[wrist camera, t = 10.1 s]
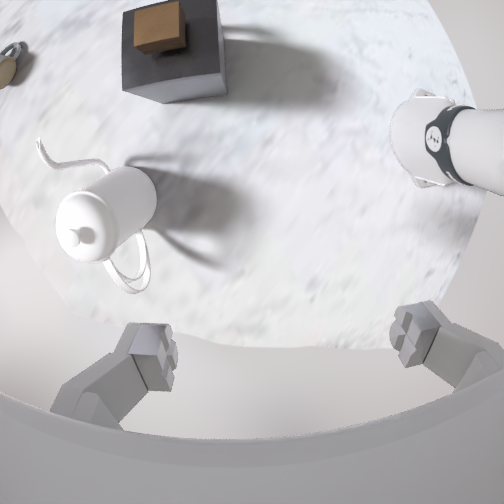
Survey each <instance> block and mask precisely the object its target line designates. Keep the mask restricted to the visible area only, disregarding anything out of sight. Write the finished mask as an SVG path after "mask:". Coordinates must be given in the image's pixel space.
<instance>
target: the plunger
mask: <svg viewBox="0 0 504 504" xmlns="http://www.w3.org/2000/svg"><path fill="white" fill-rule="evenodd" d="M134 47H135V48H136V49H138V50H139V51H140V52H142V53H143V54H144V55H147V54H152V53H156V52H161V51H166V50H171V49H176V48H182V47H186V39H185V13H184V11H183V9H182V7H181V5H180V3H179V1H176V2H171V3H166V4H162V5H157V6H153V7H149V8H145V9H142V10H138V11H135V15H134Z"/></svg>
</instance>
